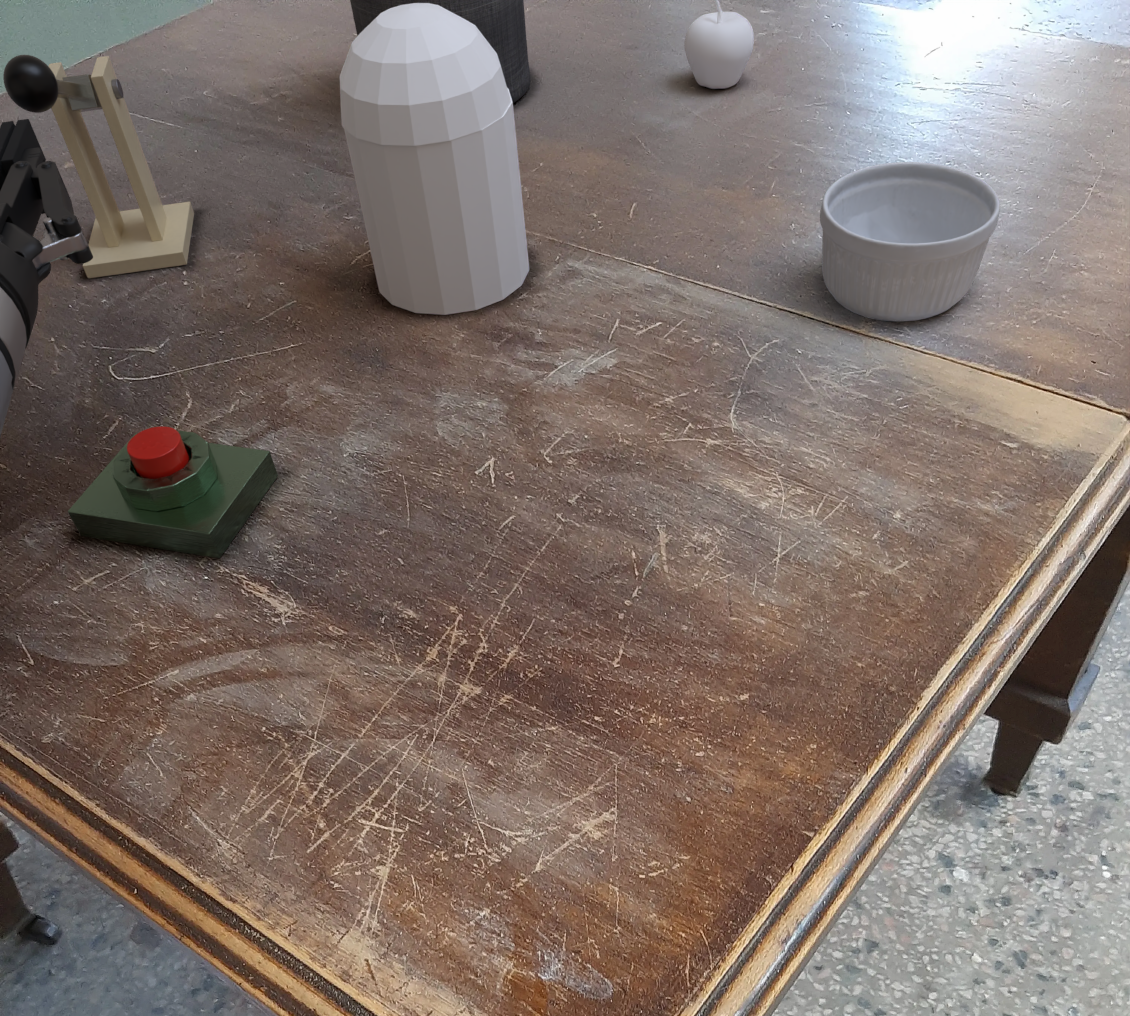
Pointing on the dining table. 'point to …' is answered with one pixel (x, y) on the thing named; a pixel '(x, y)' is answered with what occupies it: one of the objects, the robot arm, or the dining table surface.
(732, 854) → the dining table surface
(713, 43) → the plain white apple
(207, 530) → the green switch base
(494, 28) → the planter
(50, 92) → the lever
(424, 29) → the container
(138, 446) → the button
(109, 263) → the pendulum stand
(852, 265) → the ramekin
